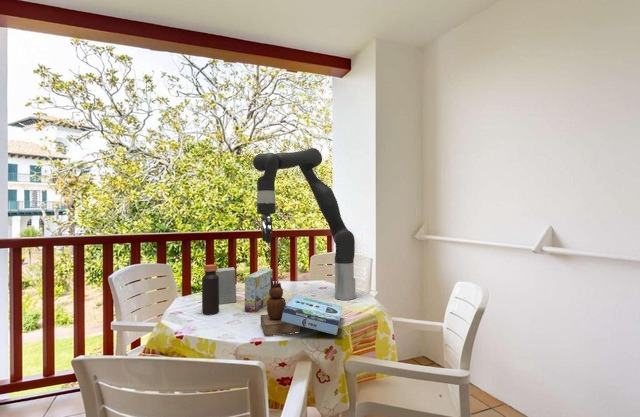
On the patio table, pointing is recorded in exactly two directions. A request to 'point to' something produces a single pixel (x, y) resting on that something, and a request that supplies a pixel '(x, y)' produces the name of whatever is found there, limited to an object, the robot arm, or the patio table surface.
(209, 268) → the bottle
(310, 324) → the gum box
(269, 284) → the snack box
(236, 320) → the patio table surface
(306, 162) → the robot arm
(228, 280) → the skincare box
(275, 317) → the wooden figurine
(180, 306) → the patio table surface
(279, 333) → the walnut stand
